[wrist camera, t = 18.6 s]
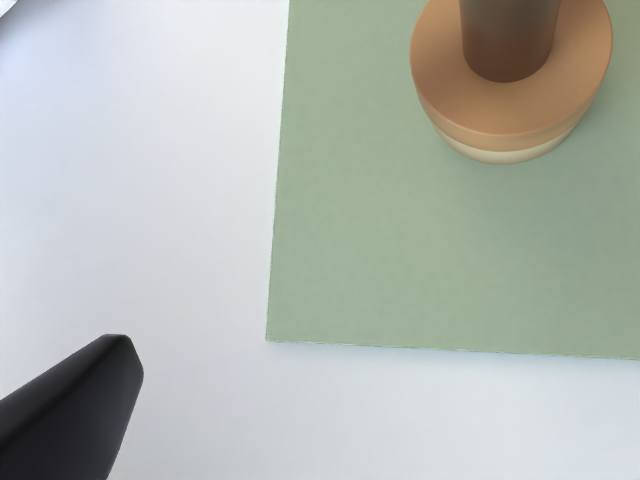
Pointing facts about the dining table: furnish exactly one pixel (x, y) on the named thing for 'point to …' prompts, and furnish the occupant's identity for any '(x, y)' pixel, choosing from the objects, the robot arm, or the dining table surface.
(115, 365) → the robot arm
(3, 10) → the coffee press
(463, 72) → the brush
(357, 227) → the mat
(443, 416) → the dining table surface
